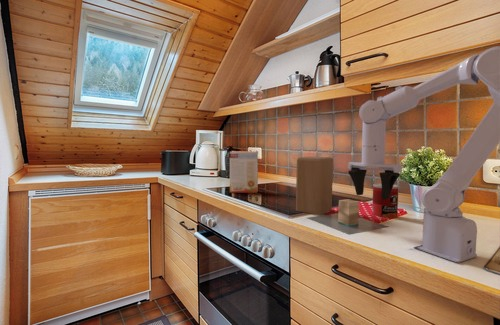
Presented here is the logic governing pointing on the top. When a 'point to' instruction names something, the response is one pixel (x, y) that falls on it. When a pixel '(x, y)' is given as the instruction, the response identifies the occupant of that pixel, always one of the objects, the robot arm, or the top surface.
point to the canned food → (385, 202)
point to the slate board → (333, 223)
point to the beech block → (348, 212)
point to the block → (314, 185)
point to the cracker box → (243, 172)
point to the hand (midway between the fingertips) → (372, 197)
